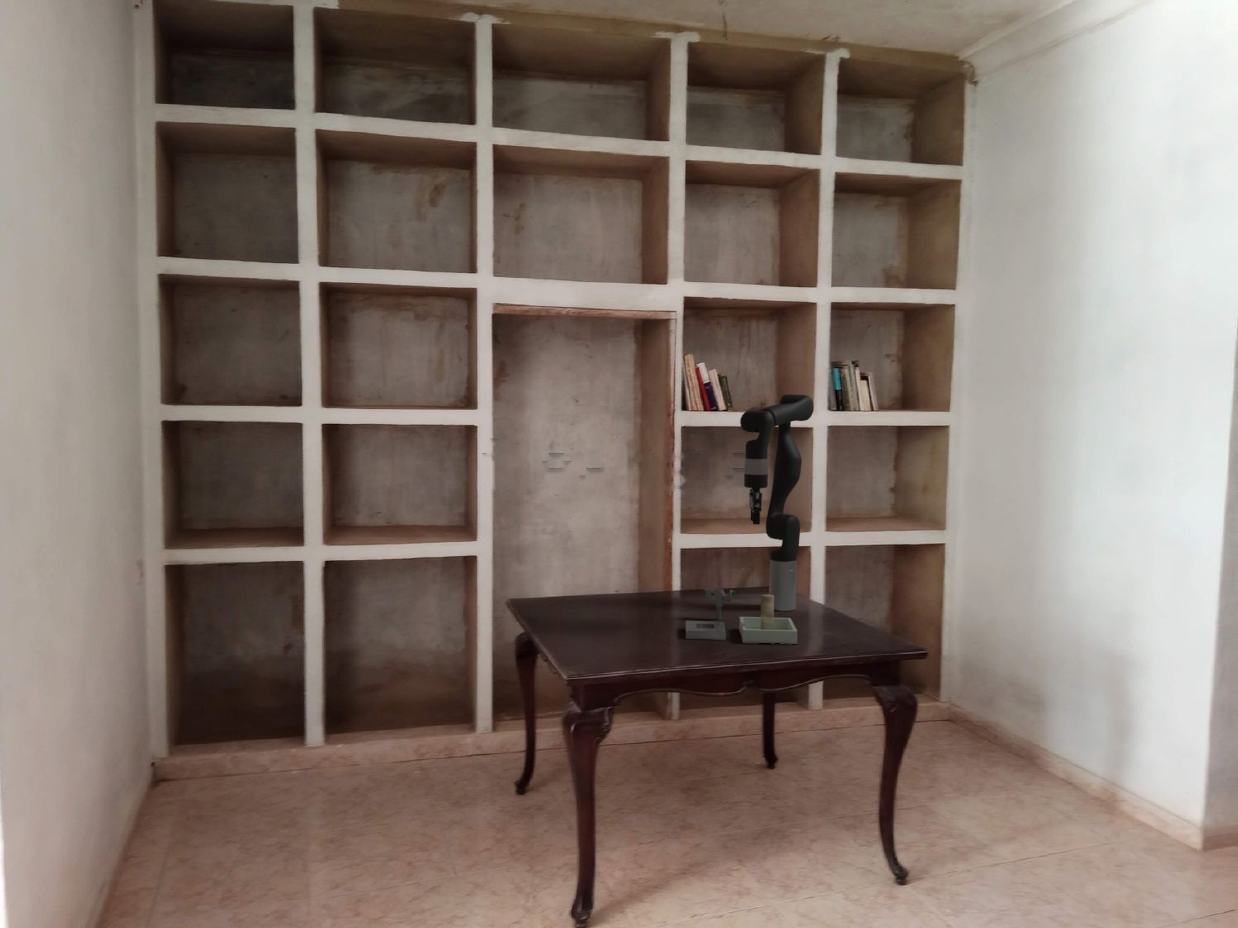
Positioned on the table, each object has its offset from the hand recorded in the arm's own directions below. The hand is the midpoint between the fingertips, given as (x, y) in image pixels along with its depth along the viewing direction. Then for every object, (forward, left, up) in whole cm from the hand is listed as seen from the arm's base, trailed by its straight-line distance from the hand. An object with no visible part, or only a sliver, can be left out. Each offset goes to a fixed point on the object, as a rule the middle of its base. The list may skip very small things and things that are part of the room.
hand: (755, 522), depth 275 cm
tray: (+16, +3, -33) cm, 37 cm away
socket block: (+15, -16, -33) cm, 40 cm away
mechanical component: (-4, -11, -33) cm, 35 cm away
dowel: (+16, +3, -32) cm, 36 cm away
